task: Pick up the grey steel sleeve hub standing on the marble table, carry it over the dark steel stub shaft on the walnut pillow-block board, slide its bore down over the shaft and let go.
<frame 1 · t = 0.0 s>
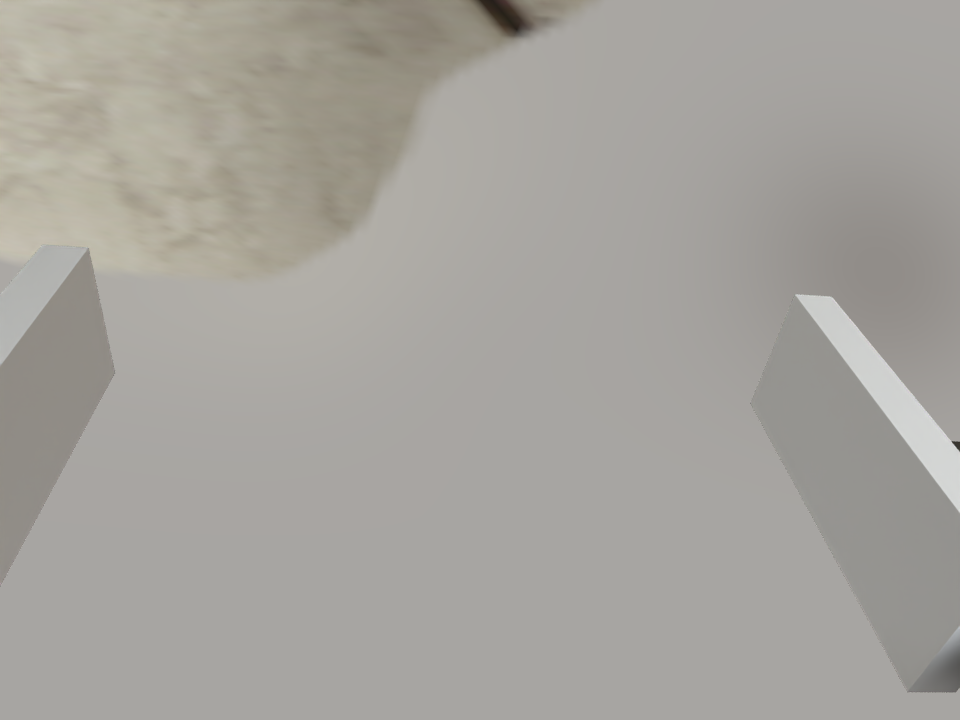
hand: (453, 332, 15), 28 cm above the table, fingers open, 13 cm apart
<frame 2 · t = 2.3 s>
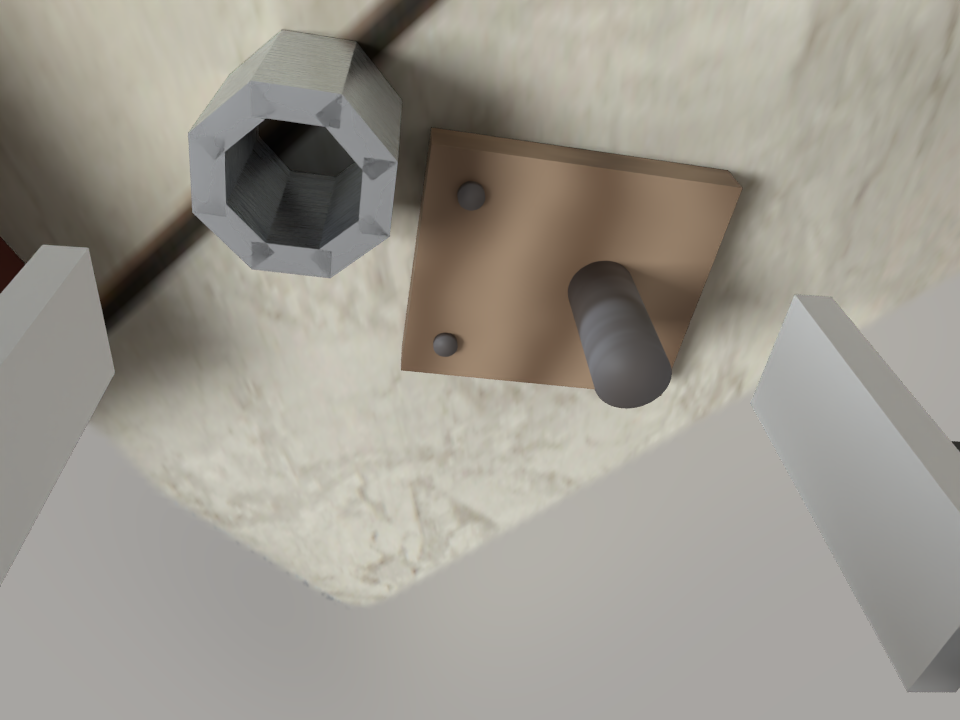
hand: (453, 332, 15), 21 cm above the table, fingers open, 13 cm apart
shaft block: (554, 264, 38), on the table
hub: (315, 121, 33), on the table
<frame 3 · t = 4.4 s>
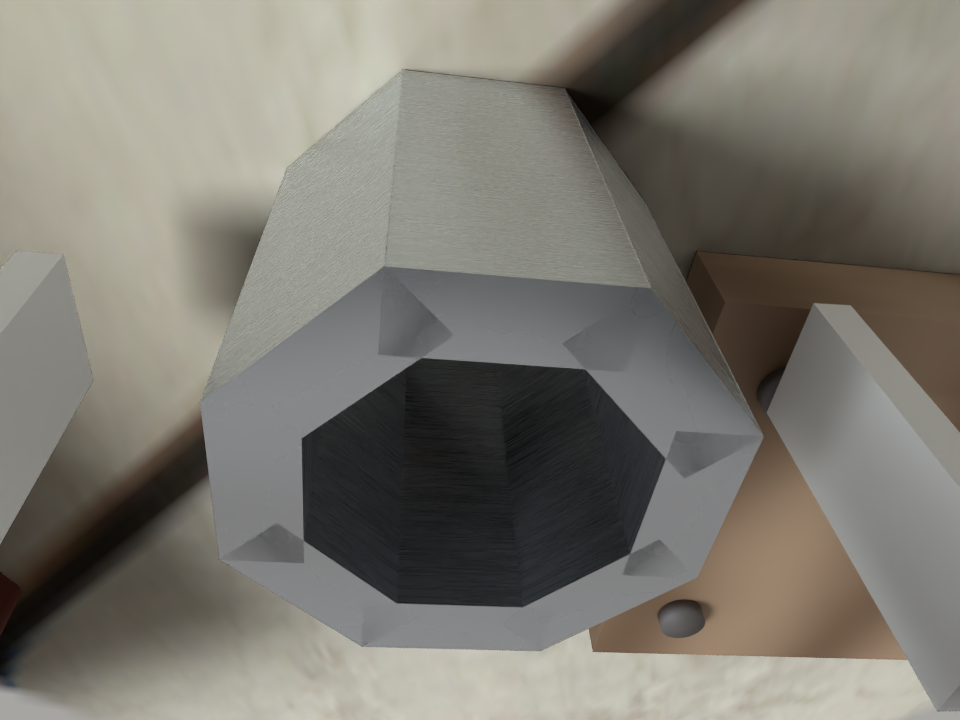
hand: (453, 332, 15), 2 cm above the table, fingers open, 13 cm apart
shaft block: (877, 466, 21), on the table
hub: (462, 251, 16), on the table
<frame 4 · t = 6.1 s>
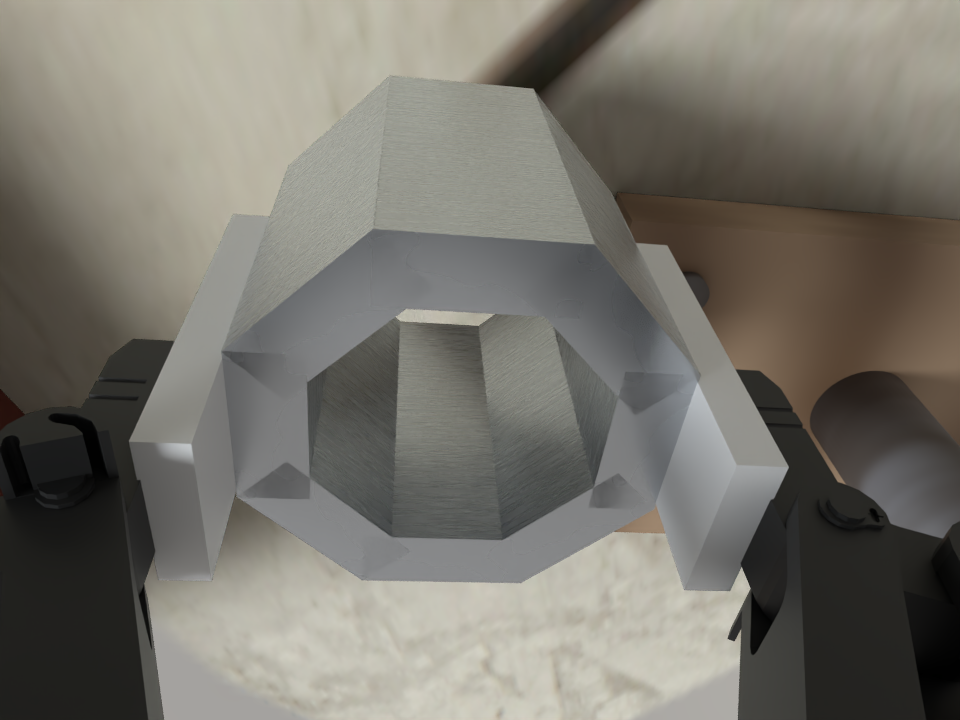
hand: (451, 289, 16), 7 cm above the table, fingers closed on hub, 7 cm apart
shaft block: (777, 372, 26), on the table
hub: (447, 238, 18), point 5 cm above the table, touching gripper
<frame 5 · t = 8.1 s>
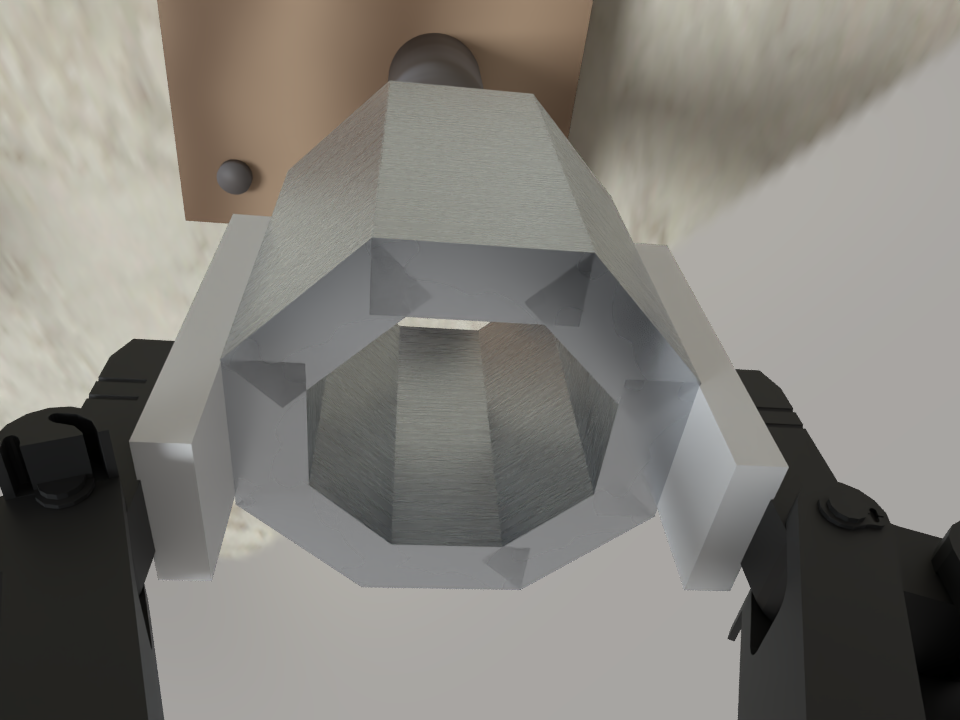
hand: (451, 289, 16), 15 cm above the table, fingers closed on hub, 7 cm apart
shaft block: (378, 59, 28), on the table
hub: (447, 243, 18), point 13 cm above the table, touching gripper
when the fingers open (4 cm above the table, at t = 10.3 s): hub stays where it is, resting on shaft block.
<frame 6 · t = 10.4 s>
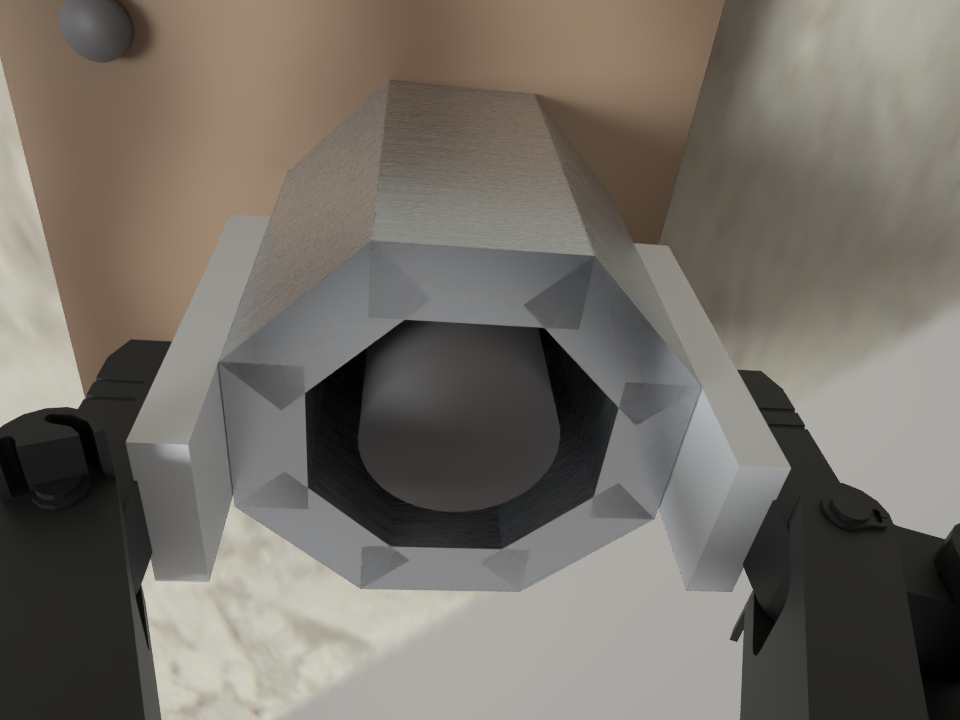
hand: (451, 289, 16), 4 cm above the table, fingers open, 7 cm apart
shaft block: (366, 195, 19), on the table
hub: (447, 243, 18), point 2 cm above the table, touching shaft block
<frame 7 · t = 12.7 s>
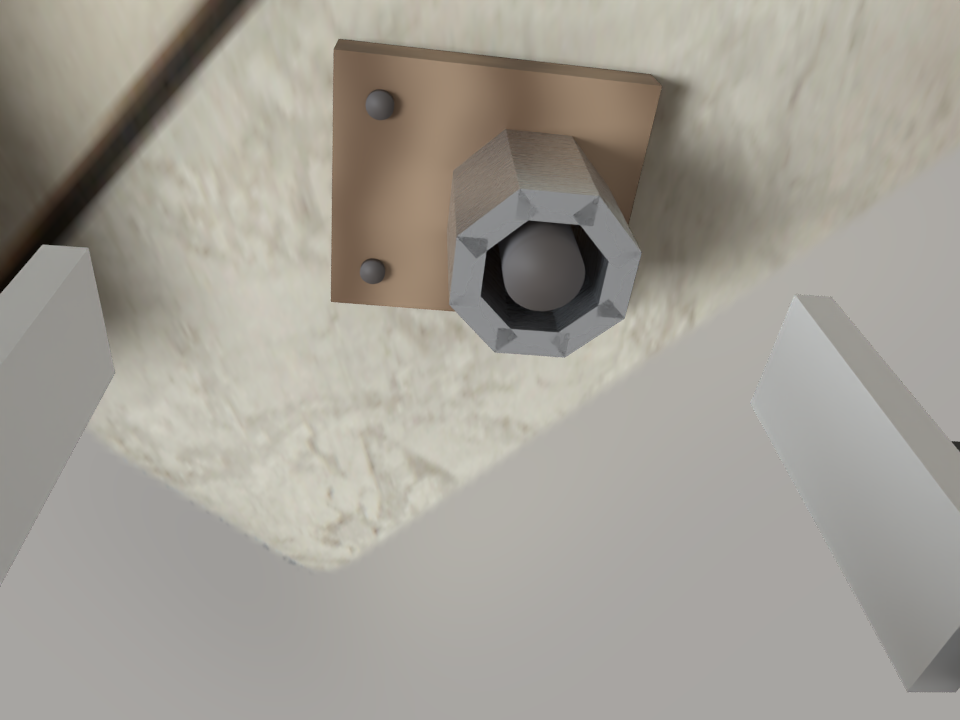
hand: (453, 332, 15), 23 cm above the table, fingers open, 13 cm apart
shaft block: (482, 185, 37), on the table
hub: (526, 208, 36), point 2 cm above the table, touching shaft block
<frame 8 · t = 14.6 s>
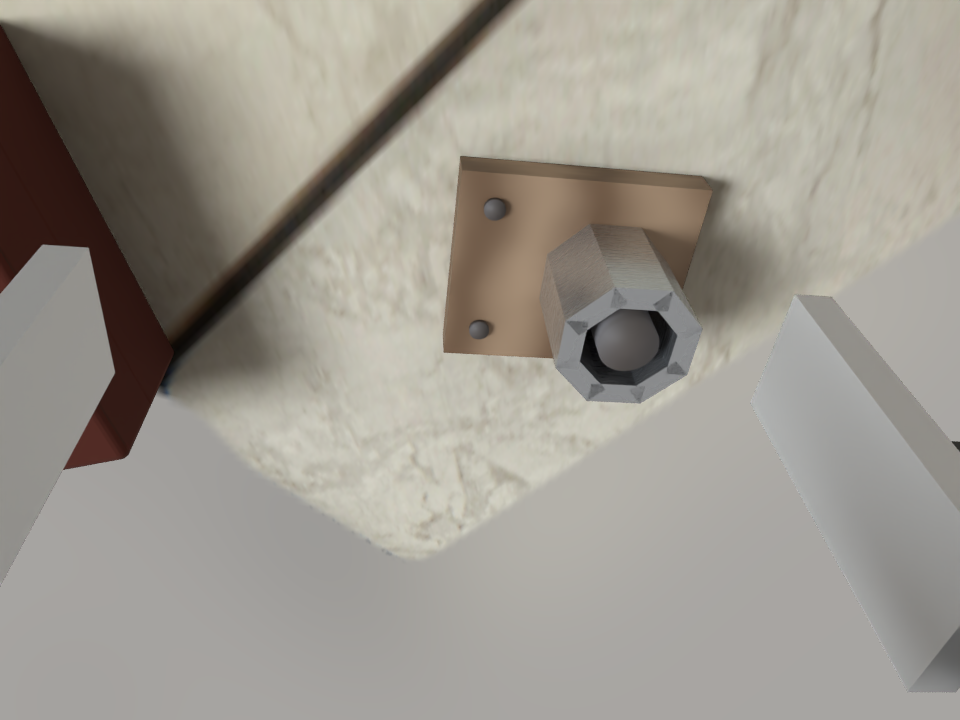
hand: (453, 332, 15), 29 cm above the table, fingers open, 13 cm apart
shaft block: (565, 259, 47), on the table
hub: (602, 280, 45), point 2 cm above the table, touching shaft block
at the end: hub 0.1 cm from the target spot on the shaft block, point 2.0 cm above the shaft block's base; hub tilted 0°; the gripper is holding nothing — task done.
